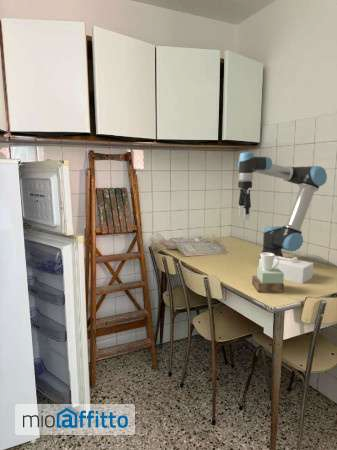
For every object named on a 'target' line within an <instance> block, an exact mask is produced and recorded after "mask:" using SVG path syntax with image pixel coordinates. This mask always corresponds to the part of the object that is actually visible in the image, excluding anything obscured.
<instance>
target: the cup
mask: <svg viewBox="0 0 337 450" xmlns="http://www.w3.org/2000/svg"><path fill="white" fill-rule="evenodd" d="M259 255H261V264H262V270H264V271H271V270H272V269H274V268H275V267H277V266H278V264H279V258H278V256H276V255H274V254H273V253H267V252H263V253H261V252H260V254H259ZM274 257H277V258H278V263H277V265H276V266H274V267H273V268H272V265H273V260H274Z"/></svg>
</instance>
